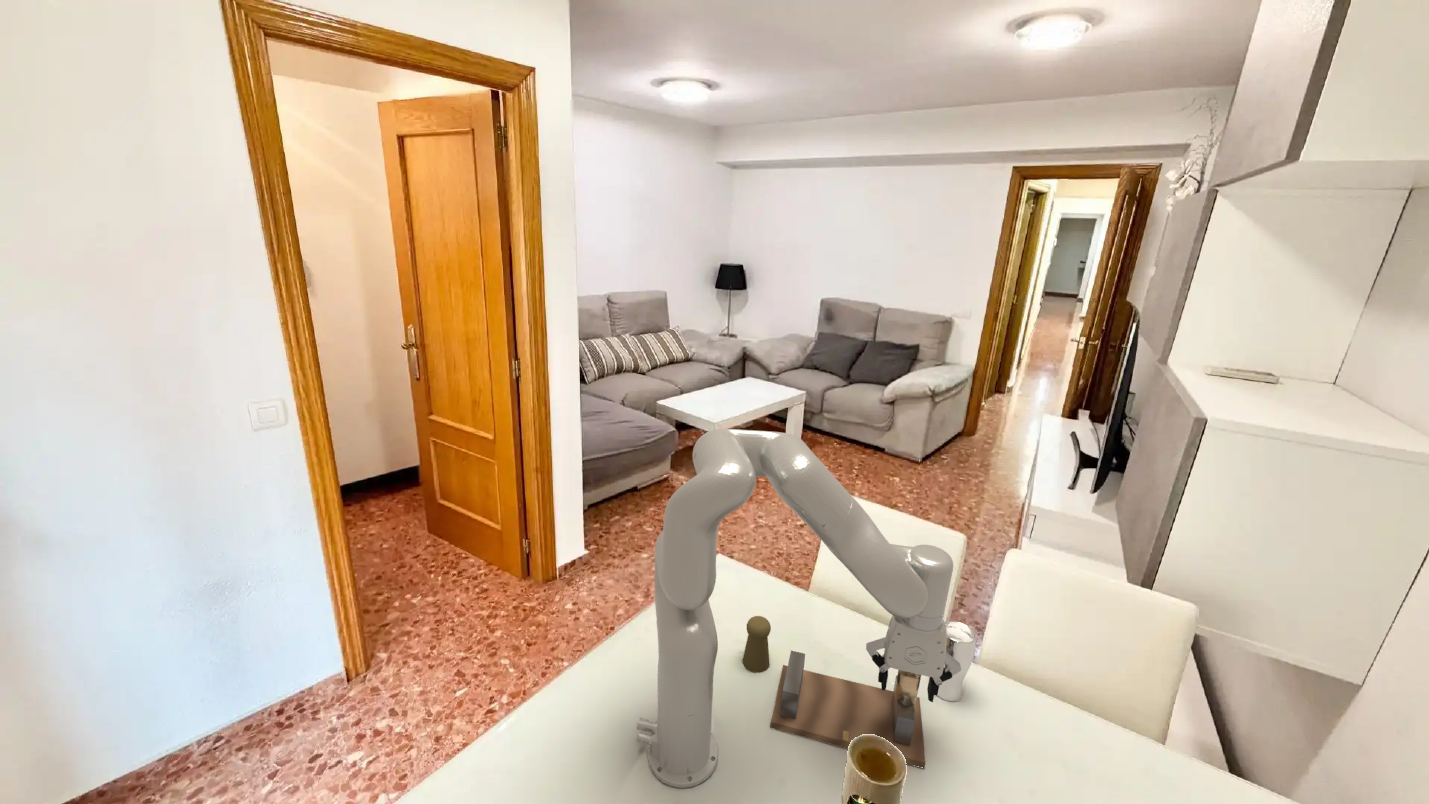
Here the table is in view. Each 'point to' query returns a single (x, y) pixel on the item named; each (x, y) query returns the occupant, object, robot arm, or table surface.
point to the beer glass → (958, 658)
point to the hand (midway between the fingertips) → (906, 690)
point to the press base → (838, 710)
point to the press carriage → (904, 706)
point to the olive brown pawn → (757, 645)
